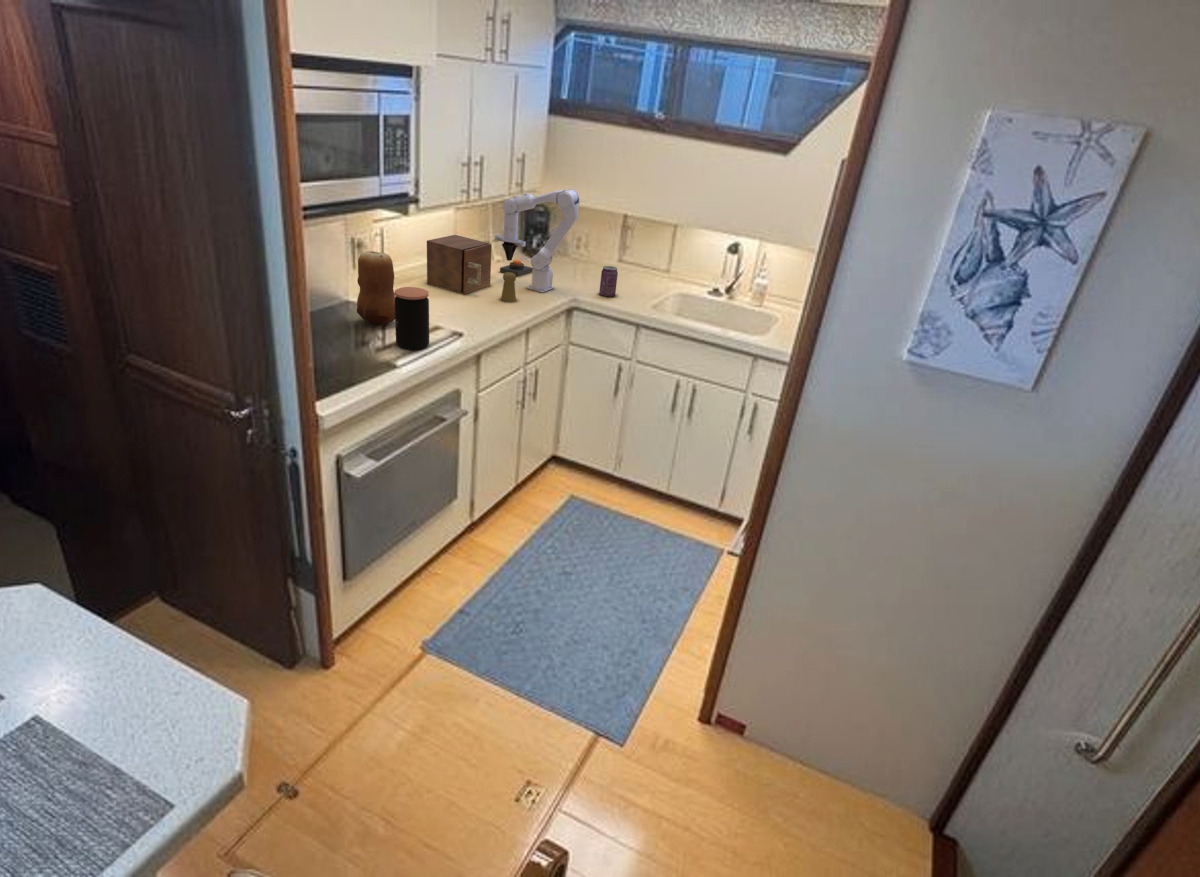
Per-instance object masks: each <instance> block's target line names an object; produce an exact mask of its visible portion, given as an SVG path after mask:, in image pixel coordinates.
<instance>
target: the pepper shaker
mask: <svg viewBox="0 0 1200 877" xmlns="http://www.w3.org/2000/svg"><path fill="white" fill-rule="evenodd" d="M502 279H503V285H502V291H501V297H500V300H501V301H503V302H506V303H514V302H516V301H517V296H516V285H515V282H516V280H517V277H516V275H515V274H514V273H511V272H506V273H503V275H502Z"/></svg>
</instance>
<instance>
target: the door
mask: <svg viewBox="0 0 1200 877" xmlns="http://www.w3.org/2000/svg"><path fill="white" fill-rule="evenodd" d="M492 247H493V246H492V243H489V244H487V245H483V246H480V247H476V248H472V249H468V250H465V251H464V289H463V293H462V294H463V295H468V294H471V293H473V292H476V291H480V290H482V289H485V288H488V287H491V274H492Z"/></svg>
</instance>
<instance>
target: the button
mask: <svg viewBox="0 0 1200 877" xmlns="http://www.w3.org/2000/svg"><path fill="white" fill-rule="evenodd" d="M512 262H513V264H514V265H521V263H522V260H521V259H520V260H519V259H512Z"/></svg>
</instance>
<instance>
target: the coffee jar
mask: <svg viewBox="0 0 1200 877" xmlns="http://www.w3.org/2000/svg"><path fill="white" fill-rule="evenodd" d="M394 294H395V296H396V297H395V320H394V323H395V324H394V326H395V328H394V329H395V342H396V344H397V346H398V347H399V348H401V349H403V350H408V351H419V350H423V349H426V348H427V347H428V345H429V344H430V300H429V298H428V297H429V296H430V295H429V294H430V292H429V290H427V289H425V288H421V287H416V286H404V287H398V288H397V289H394Z"/></svg>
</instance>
